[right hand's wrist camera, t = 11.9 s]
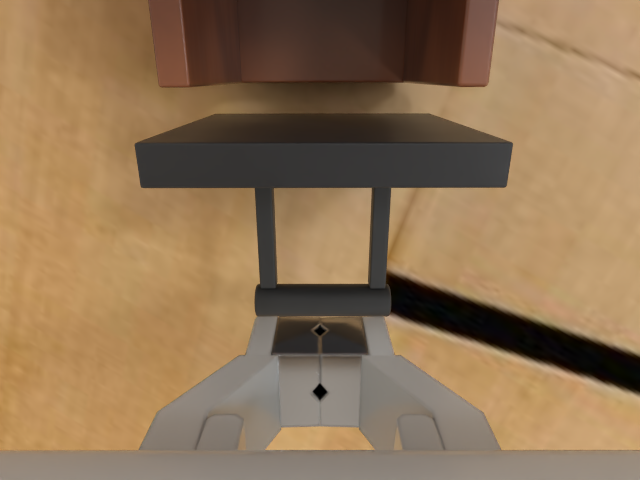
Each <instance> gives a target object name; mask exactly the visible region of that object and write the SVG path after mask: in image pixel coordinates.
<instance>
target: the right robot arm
mask: <svg viewBox="0 0 640 480" xmlns="http://www.w3.org/2000/svg"><path fill="white" fill-rule="evenodd" d="M311 426H328V427H359V430H360V431H361V432H362V433H363V435H364V436H365V437H366V438H367V440H368V441H369V442H370V444H371V445H372V446H373V447H374V449H375V450H265V449H266V448H267V446H268V445H269V444H270V443H271V441H272V440H273V439H274V438H275V436H276V435H277V434H278V433H279V431H280V430H281V427H311ZM0 480H640V450H501V448H500V446H499V444H498V442H497V440H496V438H495V436H494V434H493V431H492V429H491V427H490V425H489V423H488V421H487V419H486V417H485V415H484V413H483V412H482V411H480V410H479V409H477V408H476V407H474V406H473V405H472V404H470V403H469V402H467V401H466V400H464V399H463V398H462V397H460V396H459V395H457V394H456V393H454V392H453V391H451V390H450V389H449V388H447V387H446V386H444V385H443V384H441V383H440V382H439V381H437V380H436V379H434V378H433V377H431V376H430V375H428V374H427V373H426V372H424V371H423V370H421V369H420V368H418V367H417V366H415V365H414V364H413V363H411V362H410V361H408V360H407V359H405V358H404V357H403V356H401V355H395V354H394V351H393V347H392V343H391V340H390V336H389V332H388V329H387V325H386V321H385V318H384V317H383V316H367V317H362V316H361V317H286V316H279V317H277V316H257V317H256V318H255V321H254V325H253V328H252V332H251V336H250V339H249V343H248V347H247V351H246V354H245V355H239V356H237V357H236V358H235V359H233V360H232V361H230V362H229V363H227V364H226V365H224V366H223V367H222V368H220V369H219V370H217V371H216V372H214V373H213V374H211V375H210V376H209V377H207V378H206V379H204V380H203V381H201V382H200V383H198V384H197V385H196V386H194V387H193V388H191V389H190V390H188V391H187V392H185V393H184V394H183V395H181V396H180V397H178V398H177V399H175V400H174V401H172V402H171V403H170V404H168V405H167V406H165V407H164V408H162V409H161V410H159V411H158V412H157V413H156V415H155V418H154V420H153V422H152V424H151V426H150V428H149V430H148V432H147V434H146V436H145V438H144V440H143V442H142V444H141V446H140V448H139V450H0Z"/></svg>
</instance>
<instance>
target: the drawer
mask: <svg viewBox="0 0 640 480" xmlns="http://www.w3.org/2000/svg"><path fill="white" fill-rule="evenodd" d="M148 2H149V10H150V18H151V26H152V34H153V42H154V50H155V58H156V66H157V74H158V82H159V86H160V87H198V86H209V85H221V84H232V83H394V82H405V83H417V84H430V85H443V86H456V87H485V86H487V85H488V82H489V74H490V67H491V59H492V51H493V43H494V35H495V27H496V19H497V11H498V3H499V0H148ZM512 147H513V143H512V142H509V141H506V140H503V139H500V138H498V137H495V136H492V135H489V134H486V133H483V132H480V131H477V130H475V129H472V128H469V127H466V126H463V125H460V124H457V123H454V122H452V121H449V120H446V119H443V118H440V117H437V116H434V115H431V114H214V115H211V116H209V117H206V118H203V119H200V120H198V121H195V122H192V123H189V124H187V125H184V126H181V127H178V128H176V129H173V130H170V131H167V132H165V133H162V134H159V135H156V136H154V137H151V138H148V139H145V140H143V141H140V142H137V143H135V150H136V157H137V164H138V170H139V177H140V184H141V187H142V188H255V200H256V218H257V236H258V254H259V272H260V284H258V285H257V286H256V290H255V312H256V315H257V316H389V314H390V311H391V293H390V287H389V285H388V284H386V267H387V250H388V232H389V215H390V198H391V188H504V187H506V186H507V180H508V173H509V167H510V160H511V153H512ZM274 188H372V199H371V224H370V248H369V272H368V283H369V284H277V260H276V235H275V210H274Z"/></svg>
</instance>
